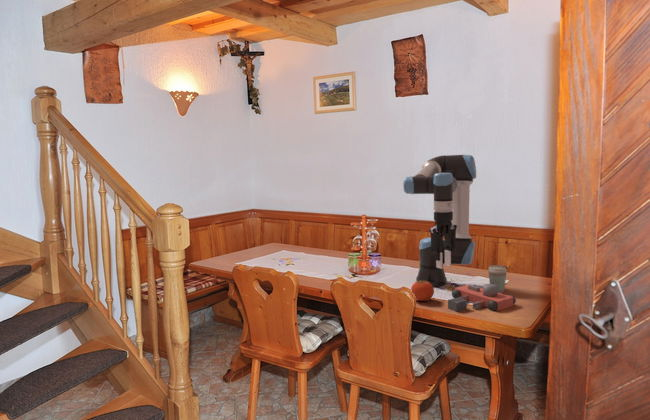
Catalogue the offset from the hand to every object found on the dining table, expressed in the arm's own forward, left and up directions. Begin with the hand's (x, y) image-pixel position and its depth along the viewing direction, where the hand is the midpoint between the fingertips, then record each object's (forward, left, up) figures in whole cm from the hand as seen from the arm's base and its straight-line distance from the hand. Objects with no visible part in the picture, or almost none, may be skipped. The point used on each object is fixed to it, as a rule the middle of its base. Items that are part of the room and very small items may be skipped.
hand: (443, 266), depth 196 cm
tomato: (-17, +4, -20) cm, 26 cm away
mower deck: (0, +24, -20) cm, 31 cm away
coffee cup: (-5, +40, -20) cm, 45 cm away
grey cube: (0, +8, -20) cm, 21 cm away
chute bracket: (0, +16, -20) cm, 25 cm away
